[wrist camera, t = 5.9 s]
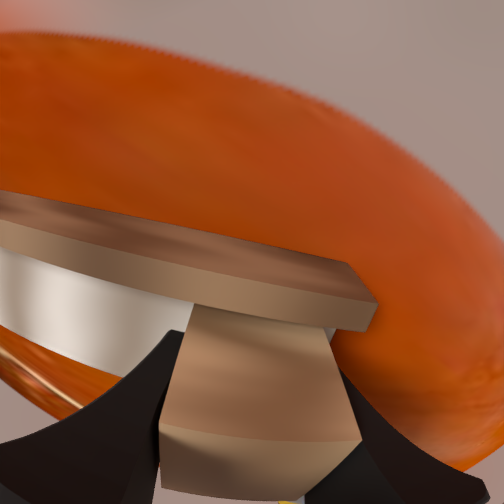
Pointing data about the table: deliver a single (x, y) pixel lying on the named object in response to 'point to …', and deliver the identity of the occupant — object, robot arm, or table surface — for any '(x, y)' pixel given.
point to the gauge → (253, 409)
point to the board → (151, 281)
